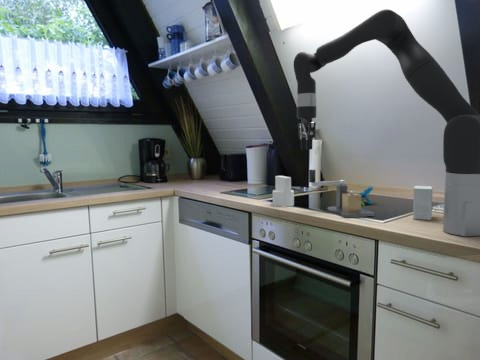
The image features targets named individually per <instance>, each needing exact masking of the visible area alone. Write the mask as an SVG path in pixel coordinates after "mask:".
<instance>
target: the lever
mask: <svg viewBox="0 0 480 360" xmlns="http://www.w3.org/2000/svg"><path fill="white" fill-rule="evenodd" d="M316 179H317V177H316V169H309V170H308V183H311V187H325V186H337V185H341V186H344V185H345V186H347V180H346V179H338V180H328V181H327V180H326V181H325V180H324V181H316Z"/></svg>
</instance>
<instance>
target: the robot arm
mask: <svg viewBox="0 0 480 360" xmlns="http://www.w3.org/2000/svg"><path fill="white" fill-rule="evenodd" d="M375 40H376V41H378V42H379V43H381V44H383V45H384V46H386V48H388V49H389V50H390V52H391V53H392V54H393V55H394V56H395V58H396V60H398V62H399V66H400V68H401V71H402V72H401V73H402V74H403V77H404V78H405V79H406V81H407V83H408V85H410V87H411V88H412V89H413V91H414V92H415V93H416V94H417V95H418V96H419V97H420V98H421V100H423V101H424V102H426V103H427V104H428V105H429V106H431V107H432V108H433V109H435V110H436V111H437V112H438V114H440V115H441V116H442V118H443V119H444V120H445V122H446V125H445V127H444V129H443V130H444V131H443V139H442V140H443V145H442V146H443V147H442V148H443V151H442V152H443V153H442V155H443V156H442V157H443V163H444V166H445V177H444V178H445V179H444V197H443V198H444V201H443V221H442V222H443V223H442V224H443V225H442V226H443V227H442V231H443V232H445V233H447V234H452V235H456V236H462V237H478V236H480V113H479V112H478V111H477V110H476V109H475V108H474V107H473V106H472V105H471V104H470V103H469V102H468V101H467V99H465V98H464V96H463V95H462V94H461V92H460V91H459V90H458V88H457V86H455V85H456V84H454V82H453V81H452V79H451V78H450V77H449V75H448V74H447V73H446V71H445V70H444V69H443V67H442V66H441V65H440V64H439V63H438V61H437V60H436V59H435V58H434V57H433V56H432V55H431V54H430V52H429V51H428V50H427V49H426V48H424V47H423V46H422V45H421V44H420V43H419V41H417V39H416V37H415V36H414V34H413V33H412V30H411V29H410V28H409V26H408V24H407V22H406V20H405V19H404V17H402V15H400V14H398V13H397V12H395V11H394V10H392V9H388V8H387V9H381V10H379V11H377V12H376V13H374V14H373V15H371V16H370V17H368V18H366V19H365V20H364V21H362V22H361V23H359V24H357V25H356V26H355V27H353V28H351V29H350V30H348V31H346V32H345V33H344V34H341V35H339V36H338V37H336V38H334V39H332V40H330V41H329V40H328V41H327V42H325V43H323V44H321V45H320V46H318V47H317V48H316V50H315V52H313V53H309V52H306V51H300V52H298V53H297V54H296V55H295V57H294V58H293V59H294V60H293V71H294V75H295V79H296V85H297V88H296V89H297V90H296V91H297V94H296V95H297V97H296V118H297V119H298V120H300V123H298V124H297V129H298V130H297V131H298V138H299V140H300V149H301V150H307V151H308V150H309V151H310V150H313V141H314V139H315V137H316V128H317V127H316V126H317V124H316V121H313V119H315V118H317V94H316V93H317V86H316V85H317V82H316V79H314V78H313V77H312V75H311V74H312V73H315V72H317V71H319V70H321V69H322V68H324V67H325V66H326V65H327V64H328V65H329V64H330V63H333V62H335V61H337V60H340V59H342V58H344V57H345V56H346V55H349V53H351V51H353V49H355V48H356V47H357V46H360V45H362V44H363V43H367V42H370V41H375Z"/></svg>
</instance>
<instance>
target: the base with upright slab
mask: <svg viewBox="0 0 480 360" xmlns="http://www.w3.org/2000/svg"><path fill="white" fill-rule="evenodd" d="M274 177H275V181H274V183H275V185H274V186H275V189H273V190H272V206H273V205H274V207H279V206H288V207H293V206H295V190H294V189H292V177H291V176H285V175H275V176H274Z"/></svg>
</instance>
